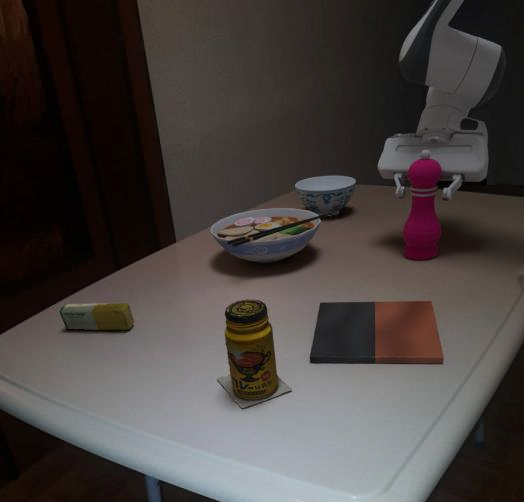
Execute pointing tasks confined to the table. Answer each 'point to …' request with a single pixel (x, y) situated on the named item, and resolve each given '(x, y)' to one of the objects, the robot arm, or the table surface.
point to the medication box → (97, 316)
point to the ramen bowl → (266, 233)
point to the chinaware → (325, 193)
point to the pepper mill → (422, 209)
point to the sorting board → (376, 333)
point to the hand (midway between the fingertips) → (422, 198)
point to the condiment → (250, 354)
